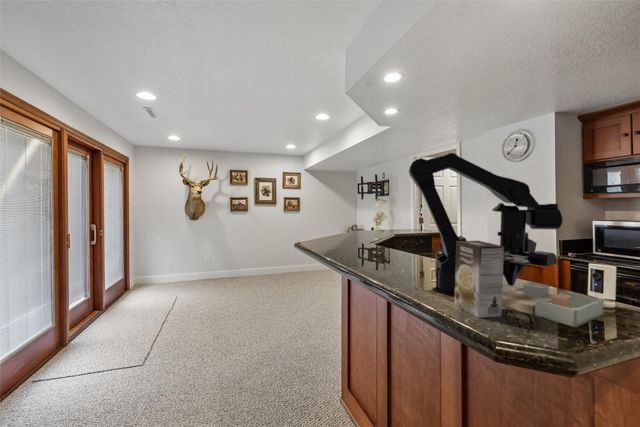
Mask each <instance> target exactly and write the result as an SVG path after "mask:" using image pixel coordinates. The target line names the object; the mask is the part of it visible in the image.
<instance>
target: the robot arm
mask: <svg viewBox="0 0 640 427" xmlns="http://www.w3.org/2000/svg"><path fill="white" fill-rule="evenodd" d="M445 170H450V171H452V172H454V173H456V174H459V175H461V176H462V177H465V178H467V179H468V180H469V181H472V182H474V183H476V184H478V185H480V186H481V187H484V188H486V189H487V190H488V191H489V192H490V193H492V194H493V196H495V197H496V198H497V199H499V200H500V201H501V202H499V203H498V204H497V205H496V206H494V208H492V212H498V213H499V212H500V231H497V236H499V237H500V238H499V241H500V242H499V245H500V246H504V261H503V278H505V281H506V283H507V285H508V286H510V287H513V286H514V285H515V283H516V281H517V279H518V277H519V276H520V273H521V271H522V269H523V268H524V267H525V266H526V265H536V266H541V267H549V266H554V265H557V264H558V257H557V255H556V254H555V252H548V251H542V250H537V251H536V248H537V244H538V243H537V242H536V241H534V240H532V239H530V238H529V232H526V228H527V227H526V226H529V228H531V229H532V230H559V229H561V226H562V224H563V216H562V213H561V210H560V209H559V205H558V203H546V204H545V203H544V204H543V203H541V204H539V202H538V201H537V200H536V199H535V198H534V196H533V195H532V194H531V189H530V186H529V185H528V184H527V183H525V182H523V181H520V180H516V179H512V178H509V177H506V176H500V175H497V174H495V173H493V172H491V171H489V170H487V169H485V168H482V167H481V166H480V165H477V164H474V163H473V162H471V161H469V160H466V159H465V158H462V157H460V156H459V155H458V154H457V153H454V152H451V153H447V154H445V155H441V156H437V157H436V156H435V157H433V158H429V159H425V158H417V159H415V160H413V162H412V163H411V164H410V166H409V169H408V173H409V177H410V178H411V180H412V181H413V182H414V184H415V185H416V187H417V188H418V189H419V191H420V192H421V194H422V196H423V198H424V201H425V203H426V205H427V208H428V210H429V213H430V214H431V217H432V219H433V222H434V224H435V226H436V228H437V230H438V233H439V235H440V238H441V242H442V246H443V251H444V254H443V255H441V256H440V257H439V258H438V259H437V260H436V259H435V260H436V261H437V264H438V266H439V267H440V268H436V277H435V286H434V287H432V288H431V289H432V291H434V292H438V293H441V294H444V295H447V296H448V295H449V296H455V268H456V241H467V238H466V237H464V236H463V235H459V236H458V235H457V233H456V231H455V228H454V227H453V224H452V222H451V220H450V218H449V216H448V213H447V211H446V209H445V207H444V206H445V205H444V204H443V202H442V199H441V197H440V195H439V193H438V191H437V188H436V183H435V176H434V174H435V173H439V172H441V171H445ZM503 202H504V203H507V204H513V205H505V204H504V203H503ZM520 208H527V209H520Z"/></svg>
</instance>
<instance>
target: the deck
mask: <svg viewBox="0 0 640 427" xmlns="http://www.w3.org/2000/svg"><path fill="white" fill-rule="evenodd" d="M553 295H554V294H551V293H549V295H548V296H546V297H542V298H538V297H534V296H530V295H526V294H523V287H520V288H517V289H512V290H508V291H505V292H502V307H505V306H506V307H505V308H509V307H510V308H509V309H512V308H513V310H515V309H516V311H519V312H523V313H525V314H526V313H527V314H528V315H535V300H540V301H544V302H547V303H550V302H552V296H553Z"/></svg>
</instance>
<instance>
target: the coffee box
mask: <svg viewBox="0 0 640 427" xmlns="http://www.w3.org/2000/svg"><path fill="white" fill-rule="evenodd" d="M503 261H504V246H500V244H496V243H495V244H494V243H490V242H486V241H481V240H466V241H456V268H455V295H454V302H453V303H454V305H455V306H456V307H459V308H461V309H462V310H464V311H466V312H467V313H469V314H471V315H472V316H474V317H475V318H478V319H479V318H494V317H495V318H496V317H502V310H503V308H502V307H503V306H502V293H503V287H504V286H503V282H504V279H503V278H504V274H503Z"/></svg>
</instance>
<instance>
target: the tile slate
mask: <svg viewBox="0 0 640 427" xmlns="http://www.w3.org/2000/svg"><path fill="white" fill-rule="evenodd" d="M522 286H523V287H522V288H523V294H526V295H530V296H534V297H538V298H542V297H546V296H548V295H549V294H550V293H549V290H550V289H549V288H550V286H549V285H546V284H542V283H537V282H533V281H530V282H526V283H523V284H522Z"/></svg>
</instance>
